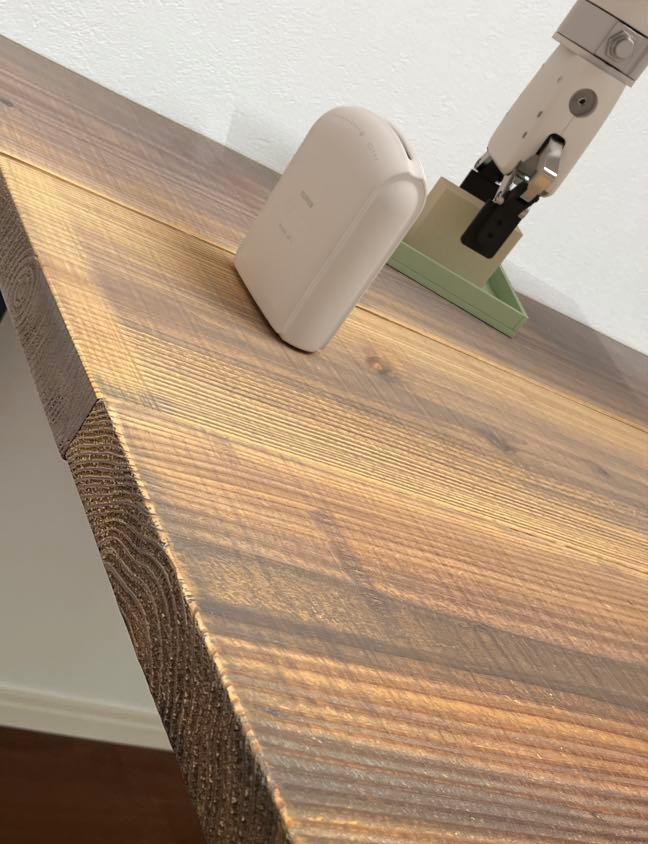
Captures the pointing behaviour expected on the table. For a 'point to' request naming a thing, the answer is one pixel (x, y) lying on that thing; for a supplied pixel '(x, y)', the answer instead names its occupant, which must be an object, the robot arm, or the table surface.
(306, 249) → the photo printer
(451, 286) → the tray
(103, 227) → the table surface
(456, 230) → the block
